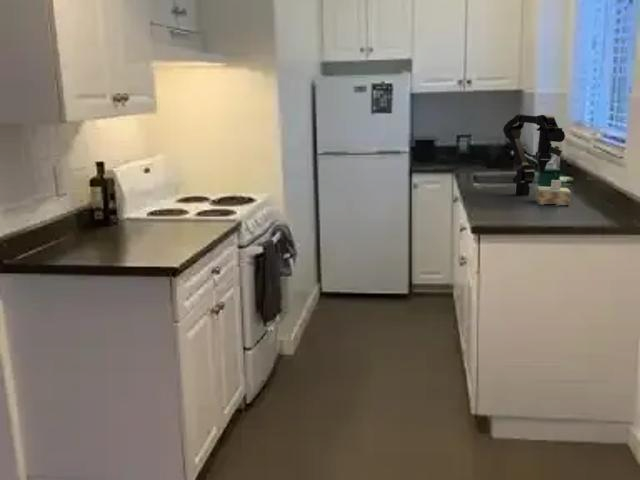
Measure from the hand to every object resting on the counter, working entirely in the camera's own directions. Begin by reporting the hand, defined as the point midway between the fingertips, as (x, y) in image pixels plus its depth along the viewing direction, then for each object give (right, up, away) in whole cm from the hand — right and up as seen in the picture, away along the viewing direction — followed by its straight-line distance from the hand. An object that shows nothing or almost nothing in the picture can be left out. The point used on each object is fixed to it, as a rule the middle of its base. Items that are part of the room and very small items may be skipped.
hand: (541, 172), depth 343 cm
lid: (+1, -10, -13) cm, 16 cm away
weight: (+2, -9, -13) cm, 16 cm away
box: (+1, -16, -12) cm, 20 cm away
